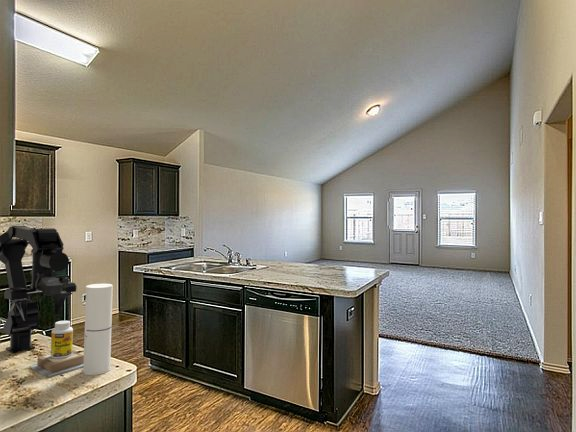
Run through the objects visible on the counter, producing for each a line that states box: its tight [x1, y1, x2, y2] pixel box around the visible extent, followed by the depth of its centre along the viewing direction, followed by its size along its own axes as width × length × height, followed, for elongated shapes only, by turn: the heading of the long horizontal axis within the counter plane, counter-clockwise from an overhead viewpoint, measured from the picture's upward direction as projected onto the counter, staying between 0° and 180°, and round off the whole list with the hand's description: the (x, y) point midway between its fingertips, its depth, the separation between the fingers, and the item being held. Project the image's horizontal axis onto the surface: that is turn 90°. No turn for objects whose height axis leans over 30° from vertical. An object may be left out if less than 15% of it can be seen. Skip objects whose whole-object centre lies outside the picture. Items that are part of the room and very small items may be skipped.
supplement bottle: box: [50, 320, 74, 359], centre depth 115 cm, size 6×6×10 cm
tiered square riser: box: [29, 350, 84, 379], centre depth 115 cm, size 12×12×3 cm
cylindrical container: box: [82, 283, 114, 376], centre depth 113 cm, size 7×7×25 cm
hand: (41, 317), depth 120 cm, fingers open, 9 cm apart
